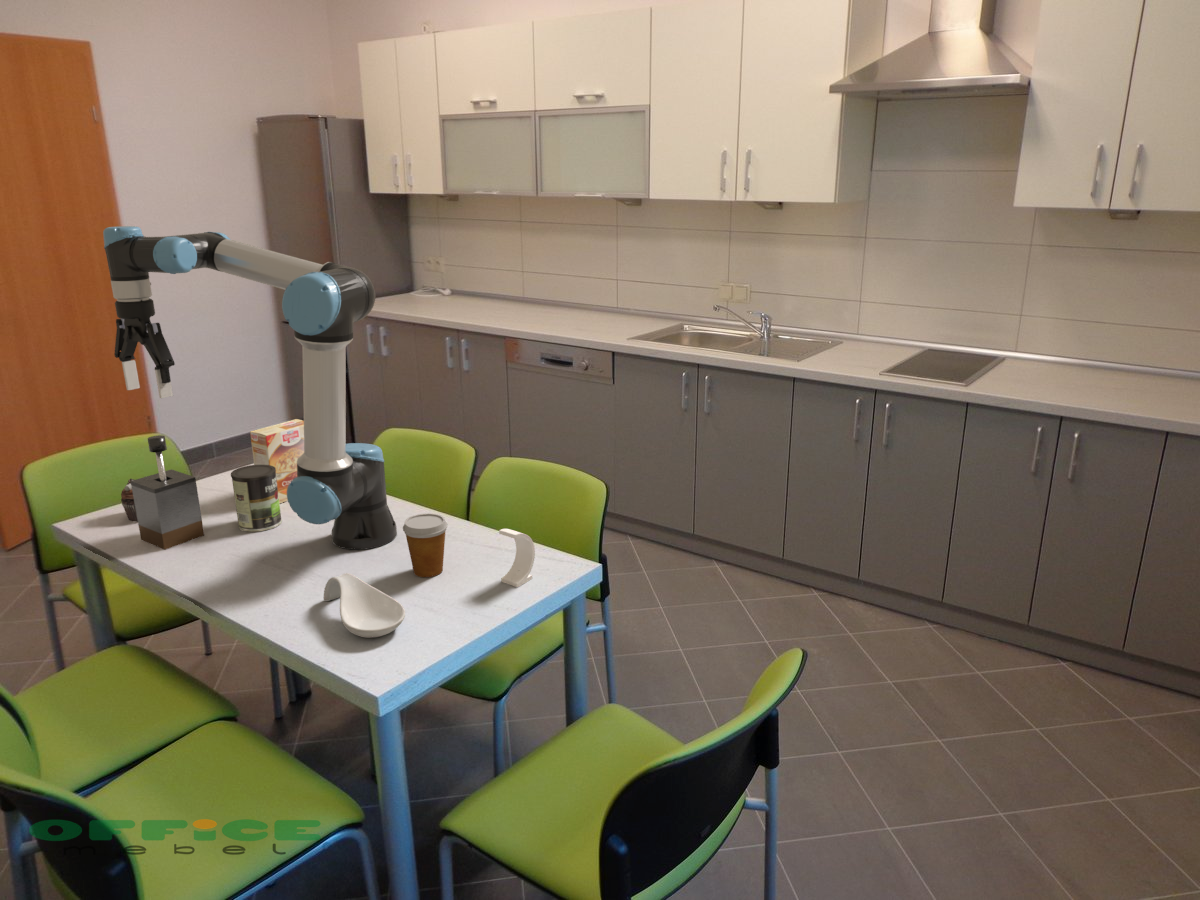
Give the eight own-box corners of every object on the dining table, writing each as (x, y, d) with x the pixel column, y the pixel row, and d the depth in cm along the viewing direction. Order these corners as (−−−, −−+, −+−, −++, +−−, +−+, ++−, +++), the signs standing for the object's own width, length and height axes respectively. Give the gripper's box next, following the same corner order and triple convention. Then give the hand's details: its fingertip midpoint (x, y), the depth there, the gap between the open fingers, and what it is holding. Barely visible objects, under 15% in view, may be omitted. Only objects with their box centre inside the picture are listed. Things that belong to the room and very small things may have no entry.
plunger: (192, 518, 205) (179, 436, 199) (164, 527, 200) (149, 443, 193) (175, 512, 209) (162, 431, 203) (147, 521, 203) (133, 438, 197)
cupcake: (125, 526, 213) (118, 488, 210) (124, 513, 221) (117, 476, 218) (167, 518, 217) (161, 481, 214) (165, 506, 225) (159, 470, 222)
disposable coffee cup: (457, 565, 191) (455, 515, 188) (436, 583, 183) (433, 532, 179) (420, 559, 194) (416, 510, 191) (397, 577, 186) (393, 526, 182)
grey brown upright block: (204, 535, 207) (195, 477, 202) (164, 549, 199) (154, 489, 194) (180, 526, 212) (171, 469, 208) (141, 540, 204) (130, 481, 200)
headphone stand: (501, 581, 184) (499, 530, 180) (519, 571, 188) (517, 521, 185) (517, 587, 181) (515, 535, 177) (535, 577, 186) (534, 525, 182)
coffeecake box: (274, 506, 225) (265, 435, 219) (257, 500, 229) (248, 431, 223) (320, 489, 237) (313, 421, 231) (303, 484, 241) (295, 417, 235)
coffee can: (288, 516, 219) (282, 464, 214) (272, 532, 209) (265, 478, 205) (248, 515, 219) (241, 463, 215) (230, 532, 209) (223, 477, 205)
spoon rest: (417, 631, 164) (415, 598, 162) (361, 653, 157) (358, 618, 154) (359, 589, 181) (356, 558, 179) (305, 607, 173) (301, 575, 171)
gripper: (182, 301, 184) (196, 396, 191) (120, 293, 198) (136, 382, 204) (148, 305, 178) (164, 404, 185) (86, 296, 192) (104, 389, 198)
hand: (149, 393), depth 195 cm, fingers open, 13 cm apart
